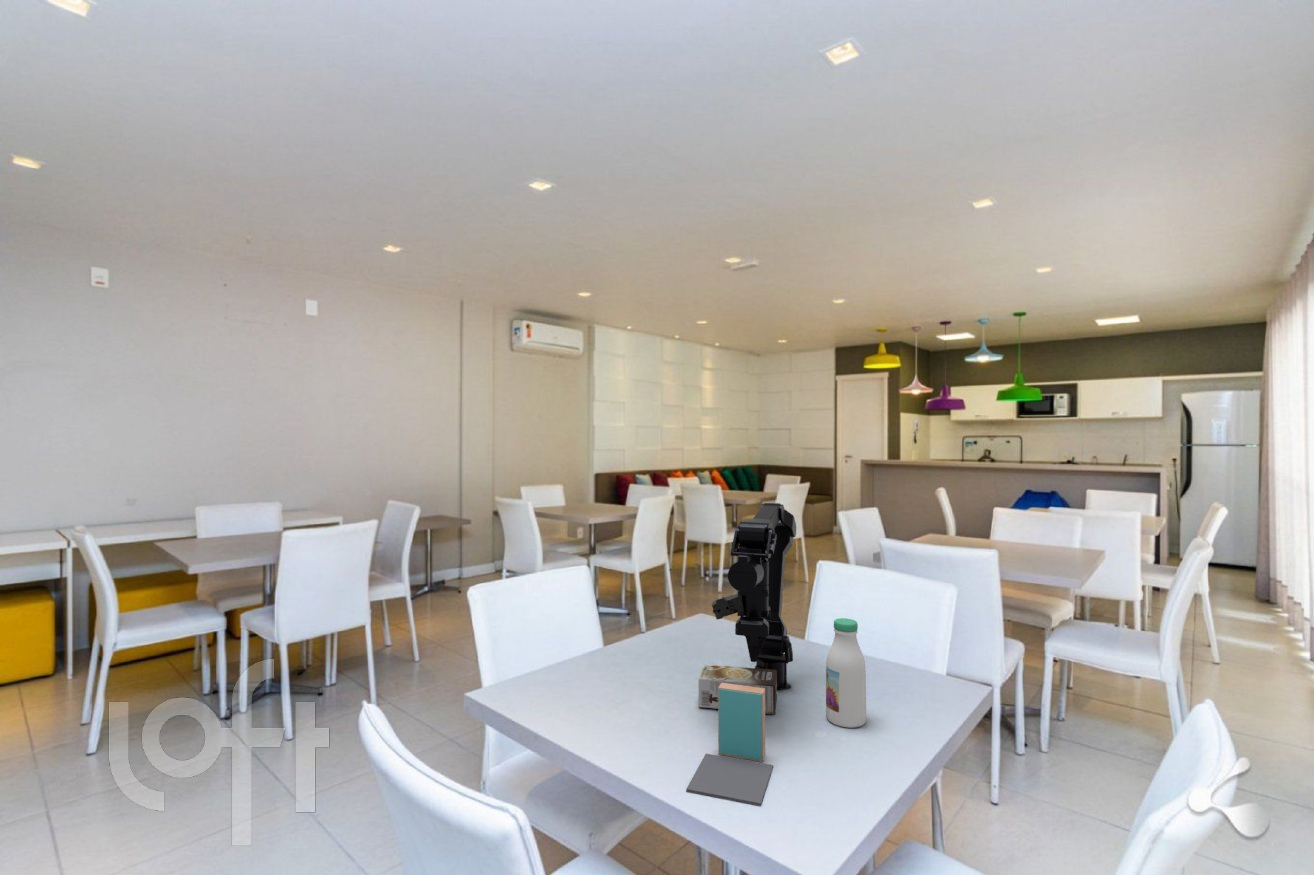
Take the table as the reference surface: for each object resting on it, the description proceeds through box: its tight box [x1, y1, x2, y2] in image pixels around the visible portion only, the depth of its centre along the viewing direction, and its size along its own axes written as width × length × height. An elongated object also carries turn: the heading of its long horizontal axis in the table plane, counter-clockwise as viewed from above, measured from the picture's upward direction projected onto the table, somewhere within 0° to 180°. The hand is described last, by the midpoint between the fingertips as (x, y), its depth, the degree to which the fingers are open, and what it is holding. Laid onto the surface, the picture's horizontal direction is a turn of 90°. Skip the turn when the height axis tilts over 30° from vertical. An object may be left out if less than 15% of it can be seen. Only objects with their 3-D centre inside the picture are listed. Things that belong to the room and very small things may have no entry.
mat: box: [685, 753, 774, 807], centre depth 104 cm, size 12×12×1 cm
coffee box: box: [698, 664, 778, 715], centre depth 133 cm, size 9×6×16 cm
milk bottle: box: [825, 617, 867, 729], centre depth 125 cm, size 8×8×20 cm
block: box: [717, 683, 766, 763], centre depth 111 cm, size 3×8×12 cm, turn 70°
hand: (753, 661), depth 126 cm, fingers closed
